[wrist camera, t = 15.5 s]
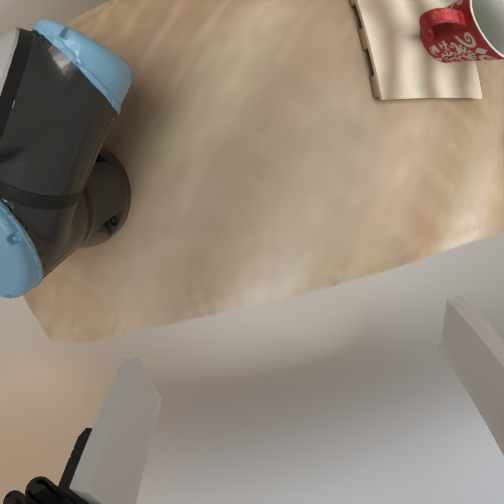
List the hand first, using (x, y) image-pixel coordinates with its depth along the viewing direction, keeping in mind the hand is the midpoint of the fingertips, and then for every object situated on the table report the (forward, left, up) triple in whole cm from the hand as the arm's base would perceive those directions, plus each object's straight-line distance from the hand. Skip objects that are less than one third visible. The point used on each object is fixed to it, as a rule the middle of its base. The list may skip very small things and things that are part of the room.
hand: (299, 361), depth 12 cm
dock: (+26, +19, -33) cm, 46 cm away
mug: (+27, +19, -30) cm, 45 cm away
